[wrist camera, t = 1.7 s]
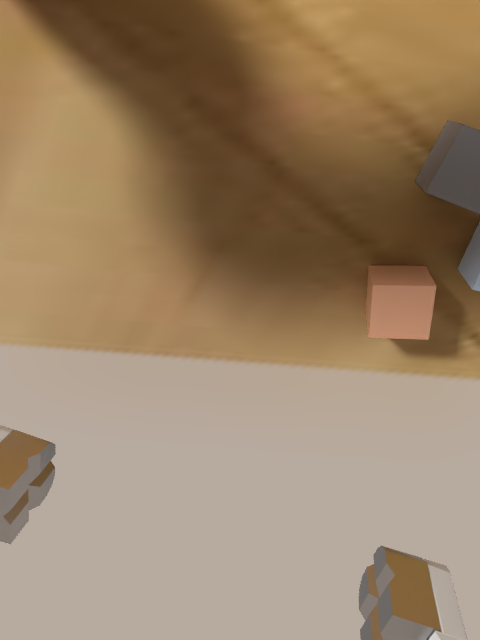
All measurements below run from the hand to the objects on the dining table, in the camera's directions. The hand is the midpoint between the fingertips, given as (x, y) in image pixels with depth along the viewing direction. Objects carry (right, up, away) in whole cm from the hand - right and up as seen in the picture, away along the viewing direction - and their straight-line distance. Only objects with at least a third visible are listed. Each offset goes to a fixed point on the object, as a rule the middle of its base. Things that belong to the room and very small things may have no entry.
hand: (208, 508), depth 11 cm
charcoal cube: (+19, +17, +26) cm, 36 cm away
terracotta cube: (+15, +7, +32) cm, 36 cm away
